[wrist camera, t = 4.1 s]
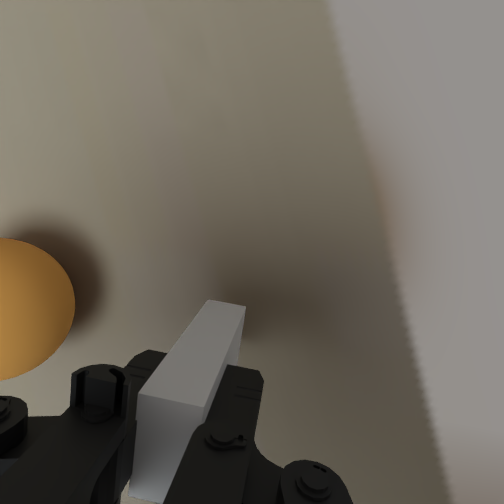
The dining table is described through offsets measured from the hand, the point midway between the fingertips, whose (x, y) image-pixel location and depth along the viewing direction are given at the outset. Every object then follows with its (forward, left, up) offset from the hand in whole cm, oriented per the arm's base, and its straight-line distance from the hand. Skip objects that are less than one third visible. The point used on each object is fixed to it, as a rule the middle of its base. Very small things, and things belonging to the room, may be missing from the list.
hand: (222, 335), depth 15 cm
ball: (+9, 0, +1) cm, 9 cm away
